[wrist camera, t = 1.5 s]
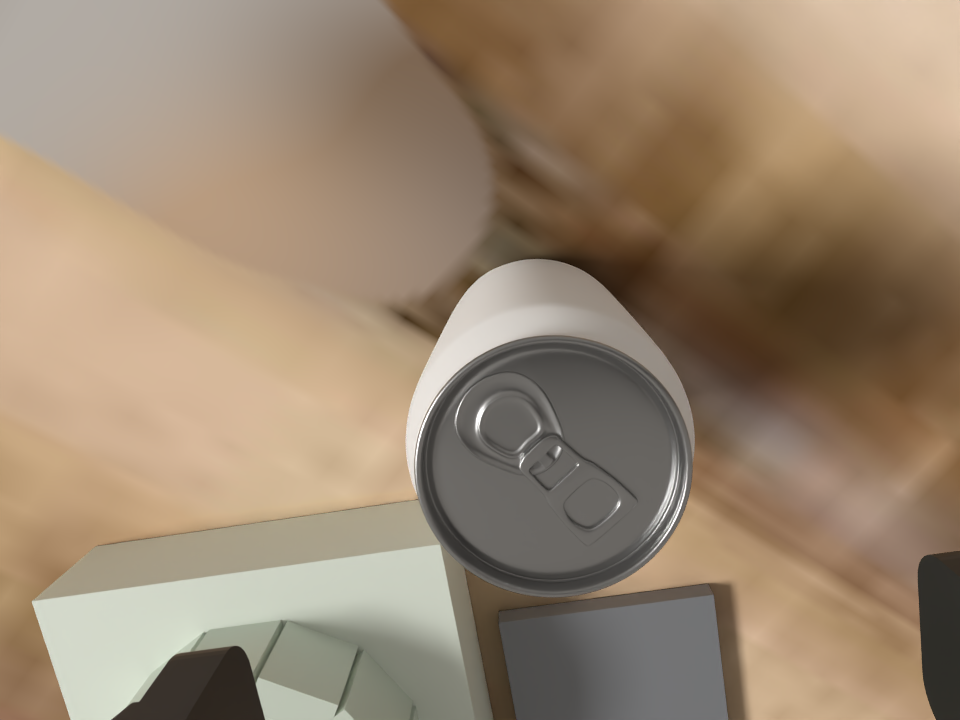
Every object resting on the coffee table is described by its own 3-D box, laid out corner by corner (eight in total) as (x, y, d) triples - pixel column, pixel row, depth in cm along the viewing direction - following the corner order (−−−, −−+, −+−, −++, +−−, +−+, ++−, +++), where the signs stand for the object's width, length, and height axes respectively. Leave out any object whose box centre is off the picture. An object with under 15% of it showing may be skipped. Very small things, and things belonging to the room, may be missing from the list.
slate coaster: (708, 583, 29) (713, 594, 28) (729, 764, 30) (735, 779, 30) (498, 611, 29) (498, 622, 29) (531, 786, 31) (531, 801, 30)
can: (535, 216, 26) (553, 243, 14) (666, 347, 27) (783, 473, 15) (407, 348, 27) (327, 472, 16) (535, 470, 28) (550, 673, 16)
